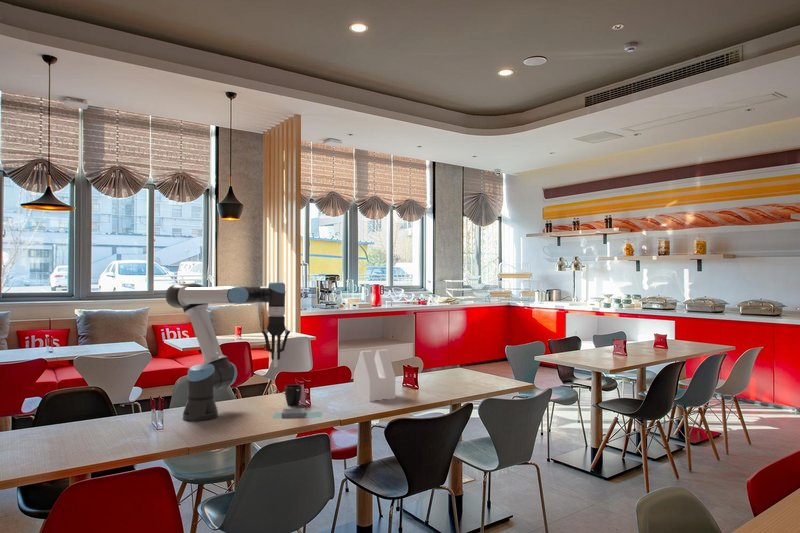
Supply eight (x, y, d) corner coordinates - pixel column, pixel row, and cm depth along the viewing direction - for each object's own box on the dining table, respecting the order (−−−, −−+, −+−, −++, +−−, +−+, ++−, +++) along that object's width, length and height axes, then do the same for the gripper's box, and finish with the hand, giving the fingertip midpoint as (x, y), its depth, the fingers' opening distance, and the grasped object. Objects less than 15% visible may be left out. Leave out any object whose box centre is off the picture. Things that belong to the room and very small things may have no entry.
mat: (272, 419, 248) (272, 418, 248) (274, 413, 258) (274, 412, 258) (321, 417, 251) (321, 417, 251) (322, 412, 260) (322, 411, 260)
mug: (290, 409, 266) (290, 389, 267) (282, 404, 277) (282, 385, 277) (306, 407, 271) (306, 388, 271) (298, 402, 281) (298, 384, 281)
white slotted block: (353, 395, 301) (353, 349, 301) (378, 392, 309) (378, 347, 309) (369, 401, 284) (369, 353, 285) (395, 398, 292) (395, 351, 292)
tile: (281, 413, 249) (303, 412, 250) (283, 408, 258) (305, 408, 259) (281, 417, 249) (303, 417, 250) (283, 412, 258) (305, 412, 259)
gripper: (261, 316, 250) (260, 368, 249) (290, 316, 251) (289, 368, 251) (263, 315, 257) (262, 365, 257) (291, 315, 259) (290, 365, 258)
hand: (275, 366), depth 254 cm, fingers closed
